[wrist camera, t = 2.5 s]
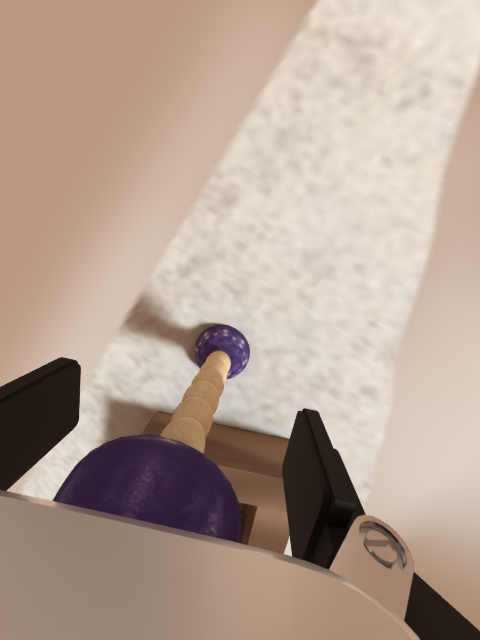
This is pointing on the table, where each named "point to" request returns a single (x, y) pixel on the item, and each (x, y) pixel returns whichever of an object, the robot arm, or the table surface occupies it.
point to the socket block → (248, 478)
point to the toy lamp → (170, 457)
